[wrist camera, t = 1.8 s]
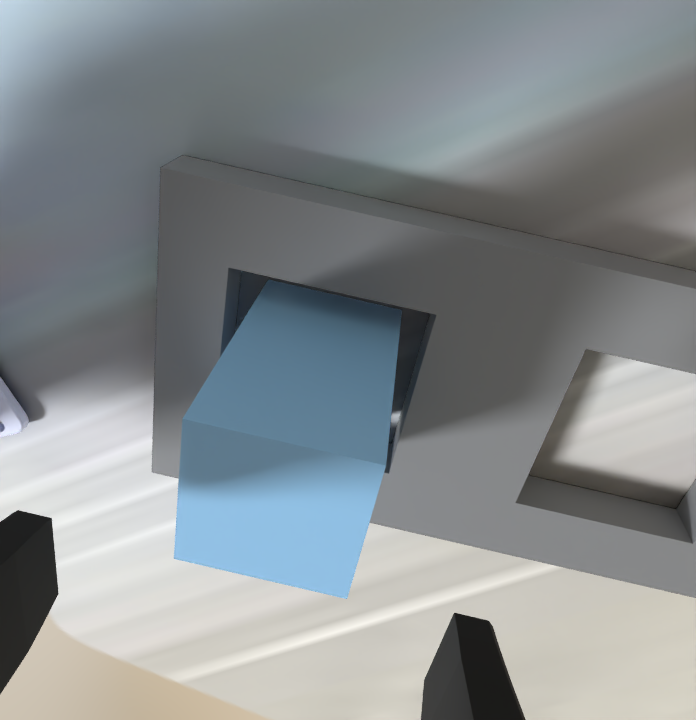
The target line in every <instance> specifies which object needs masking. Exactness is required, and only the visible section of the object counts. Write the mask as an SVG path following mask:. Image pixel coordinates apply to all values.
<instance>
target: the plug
mask: <svg viewBox="0 0 696 720" xmlns="http://www.w3.org/2000/svg"><path fill="white" fill-rule="evenodd" d="M401 316H402V310H400V309H396V308H391V307H387V306H383V305H378V304H374V303H369V302H365V301H361V300H356V299H352V298H347V297H343V296H339V295H334V294H330V293H325V292H321V291H317V290H312V289H308V288H304V287H299V286H295V285H290V284H286V283H282V282H277V281H273V280H268V281H267V282H266V284H265V285H264V287H263V289H262V290H261V292H260V294H259V295H258V297H257V298H256V300H255V302H254V303H253V305H252V307H251V308H250V310H249V311H248V313H247V315H246V316H245V318H244V320H243V321H242V323H241V324H240V326H239V328H238V329H237V331H236V333H235V334H234V336H233V337H232V339H231V341H230V342H229V344H228V345H227V347H226V349H225V350H224V352H223V354H222V355H221V357H220V358H219V360H218V362H217V363H216V365H215V367H214V368H213V370H212V371H211V373H210V375H209V376H208V378H207V380H206V381H205V383H204V384H203V386H202V388H201V389H200V391H199V393H198V394H197V396H196V397H195V399H194V401H193V402H192V404H191V406H190V407H189V409H188V410H187V412H186V414H185V415H184V417H183V419H182V434H181V451H180V467H179V484H178V501H177V517H176V534H175V551H174V559H177V560H182V561H186V562H190V563H195V564H199V565H203V566H208V567H212V568H216V569H220V570H225V571H229V572H233V573H238V574H242V575H246V576H251V577H255V578H259V579H264V580H268V581H272V582H276V583H281V584H285V585H289V586H294V587H298V588H302V589H307V590H311V591H315V592H319V593H324V594H328V595H332V596H337V597H341V598H345V599H347V597H348V594H349V590H350V587H351V583H352V580H353V577H354V573H355V570H356V566H357V563H358V560H359V556H360V553H361V549H362V546H363V543H364V539H365V536H366V532H367V529H368V525H369V522H370V519H371V515H372V512H373V508H374V505H375V502H376V498H377V495H378V491H379V488H380V485H381V481H382V478H383V474H384V471H385V468H386V462H387V452H388V442H389V432H390V423H391V413H392V403H393V393H394V384H395V374H396V364H397V355H398V345H399V335H400V325H401Z"/></svg>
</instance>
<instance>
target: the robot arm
mask: <svg viewBox="0 0 696 720" xmlns="http://www.w3.org/2000/svg"><path fill="white" fill-rule="evenodd" d="M0 421H1V422H2V423H3V424H2V423H0V438H1V437H5V436H10V435H14V434H18V433H20V432H22V431H23V430H24V429H25V428H26V427H27V425H28V423H29V419H28V417H27V415H26V413H25V411H24V410H23V409H22V407H21V406H20V404H19V403H18V401H17V400H16V399H15V397H14V396H13V394H12V393H11V391H10V390H9V389H8V387H7V386H6V384H5V383H4V381H3V380H2V379H1V377H0ZM57 595H58V584H57V573H56V562H55V551H54V540H53V529H52V518H48V517H44V516H40V515H36V514H31V513H27V512H23V511H19V510H18V511H16V512H14V513H12V514H11V515H9V516H8V517H7V518H5V519H4V520H2V521H1V522H0V694H1V692H2V691H3V689H4V687H5V686H6V685H7V683H8V682H9V680H10V679H11V677H12V675H13V674H14V673H15V671H16V670H17V668H18V667H19V665H20V664H21V662H22V660H23V659H24V657H25V656H26V654H27V653H28V651H29V649H30V647H31V646H32V644H33V642H34V640H35V638H36V636H37V634H38V633H39V631H40V629H41V627H42V625H43V623H44V621H45V619H46V617H47V615H48V613H49V611H50V609H51V607H52V605H53V603H54V601H55V599H56V597H57ZM421 720H525V717H524V715H523V712H522V709H521V707H520V704H519V701H518V699H517V696H516V693H515V691H514V688H513V685H512V682H511V680H510V677H509V674H508V671H507V668H506V665H505V663H504V660H503V657H502V654H501V651H500V648H499V645H498V642H497V639H496V635H495V632H494V629H493V626H492V625H491V623H490V622H489V621H487V620H483V619H479V618H475V617H470V616H466V615H462V614H458V613H454V614H453V617H452V619H451V621H450V623H449V626H448V628H447V630H446V632H445V635H444V637H443V639H442V641H441V644H440V646H439V648H438V650H437V653H436V655H435V657H434V659H433V662H432V664H431V666H430V668H429V671H428V673H427V675H426V677H425V680H424V690H423V702H422V714H421Z"/></svg>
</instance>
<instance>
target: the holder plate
mask: <svg viewBox="0 0 696 720" xmlns="http://www.w3.org/2000/svg"><path fill="white" fill-rule="evenodd" d="M241 270H242V271H246V272H250V273H255V274H259V275H264V276H268V277H272V278H277V279H281V280H286V281H290V282H294V283H299V284H303V285H307V286H312V287H316V288H321V289H325V290H329V291H334V292H338V293H343V294H347V295H351V296H356V297H360V298H364V299H369V300H373V301H378V302H382V303H386V304H391V305H395V306H400V307H404V308H408V309H413V310H417V311H422V312H426V313H430V315H429V319H428V322H427V325H426V329H425V332H424V336H423V339H422V343H421V346H420V349H419V353H418V356H417V360H416V363H415V366H414V370H413V373H412V377H411V380H410V383H409V387H408V390H407V394H406V397H405V401H404V404H403V407H402V411H401V414H400V418H399V421H398V424H397V428H396V431H395V435H394V438H393V442H392V444H390V443H388V452H387V462H386V468H385V471H384V474H383V478H382V481H381V485H380V488H379V491H378V495H377V498H376V502H375V505H374V508H373V512H372V515H371V519H370V522H369V523H374V524H378V525H382V526H387V527H391V528H395V529H400V530H404V531H408V532H412V533H417V534H421V535H425V536H430V537H434V538H438V539H443V540H447V541H451V542H456V543H460V544H464V545H469V546H473V547H477V548H482V549H486V550H490V551H495V552H499V553H503V554H508V555H512V556H516V557H521V558H525V559H529V560H534V561H538V562H542V563H547V564H551V565H555V566H560V567H564V568H568V569H573V570H577V571H581V572H586V573H590V574H594V575H599V576H603V577H607V578H612V579H616V580H620V581H625V582H629V583H633V584H638V585H642V586H646V587H651V588H655V589H659V590H664V591H668V592H672V593H676V594H681V595H685V596H689V597H694V598H696V480H695V481H694V483H693V484H692V486H691V487H690V489H689V490H688V492H687V493H686V495H685V496H684V498H683V499H682V501H681V503H680V504H679V506H678V507H677V509H673V508H668V507H664V506H660V505H655V504H651V503H647V502H642V501H638V500H634V499H629V498H625V497H621V496H616V495H612V494H607V493H603V492H599V491H594V490H590V489H586V488H581V487H577V486H573V485H568V484H564V483H560V482H555V481H551V480H547V479H542V478H538V477H534V476H529V475H528V474H529V472H530V470H531V468H532V466H533V463H534V461H535V459H536V457H537V455H538V452H539V450H540V448H541V446H542V444H543V442H544V439H545V437H546V435H547V433H548V431H549V428H550V426H551V424H552V422H553V420H554V418H555V415H556V413H557V411H558V409H559V407H560V405H561V402H562V400H563V398H564V396H565V394H566V391H567V389H568V387H569V385H570V383H571V381H572V378H573V376H574V374H575V372H576V370H577V367H578V365H579V363H580V361H581V359H582V357H583V354H584V352H585V350H586V349H588V350H593V351H597V352H601V353H606V354H610V355H615V356H619V357H623V358H628V359H632V360H636V361H641V362H645V363H650V364H654V365H658V366H663V367H667V368H672V369H676V370H680V371H685V372H689V373H694V374H696V271H692V270H688V269H683V268H679V267H674V266H670V265H666V264H661V263H657V262H652V261H648V260H643V259H639V258H635V257H630V256H626V255H621V254H617V253H613V252H608V251H604V250H599V249H595V248H590V247H586V246H582V245H577V244H573V243H568V242H564V241H560V240H555V239H551V238H546V237H542V236H538V235H533V234H529V233H524V232H520V231H515V230H511V229H507V228H502V227H498V226H493V225H489V224H485V223H480V222H476V221H471V220H467V219H462V218H458V217H454V216H449V215H445V214H440V213H436V212H432V211H427V210H423V209H418V208H414V207H409V206H405V205H401V204H396V203H392V202H387V201H383V200H379V199H374V198H370V197H365V196H361V195H357V194H352V193H348V192H343V191H339V190H334V189H330V188H326V187H321V186H317V185H312V184H308V183H304V182H299V181H295V180H290V179H286V178H281V177H277V176H273V175H268V174H264V173H259V172H255V171H251V170H246V169H242V168H237V167H233V166H228V165H224V164H220V163H215V162H211V161H206V160H202V159H198V158H193V157H189V156H184V155H182V156H180V157H178V158H176V159H175V160H173V161H171V162H169V163H168V164H166V165H164V166H162V167H161V168H160V203H159V237H158V272H157V307H156V341H155V376H154V411H153V446H152V472H153V473H157V474H161V475H166V476H170V477H174V478H179V467H180V451H181V434H182V419H183V417H184V415H185V414H186V412H187V410H188V409H189V407H190V406H191V404H192V402H193V401H194V399H195V397H196V396H197V394H198V393H199V391H200V389H201V388H202V386H203V384H204V383H205V381H206V380H207V378H208V376H209V375H210V373H211V371H212V370H213V368H214V367H215V365H216V363H217V362H218V360H219V358H220V357H221V355H222V354H223V352H224V350H225V349H226V347H227V345H228V344H229V342H230V341H231V339H232V337H233V336H234V334H235V326H236V317H237V308H238V298H239V289H240V279H241Z"/></svg>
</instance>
